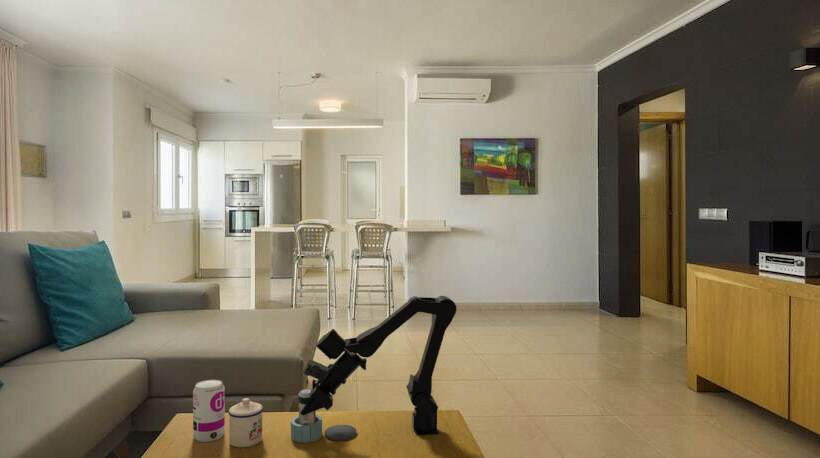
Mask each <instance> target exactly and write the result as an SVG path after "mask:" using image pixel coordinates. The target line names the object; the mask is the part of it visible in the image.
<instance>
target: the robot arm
mask: <svg viewBox="0 0 820 458" xmlns="http://www.w3.org/2000/svg"><path fill="white" fill-rule="evenodd" d="M418 313H424V314H430V315H431V326H430V329H429V333H428V337H427V340H426V343H425V346H424V350H423V353H422V356H421V360H420V364H419V367H418V370H417V372H416V373H415V374H414V375H413V374H411V373H410V374H409V381H408V383H407V385H405V387H406V389H407V395H408V397H409V399H410V403H411V404H412V405H413V407H414V408H413V412H412V414H411V415H412V416H411V421H412V422H411V423H412V424H411V428H412V429H413V430H414V433H415V434H416V435H418V436H419V435H429V434H430V435H431V434H432V435H434V434H439V433H440V432H439V429H438V410H439V406H438V404H437V402H436V401H435V397H433V395H432V391H433V390H432V389H433V388H432V387H433V386H432V385H433V374H434V371H435V369H436V364H437V360H438V357H439V354H440V351H441V346H442V344H443V341H444V337H445V333H446V331H447V329H448V328H449V326H450V325H451V323H452V321H453V319H454V317H455V315H456V314H457V305H456V303H455V302H454V301H453V300H452V299H451V298H449V297H448V296H446V295H440V296H438V297H437V296H436V297H429V296H427V297H423V296H422V297H421V296H411V297H410V298H409V300H407V302H405V303H404V304H403V305H401V306H400V307H399V308H398V309H396V310H395V311H394V312H393V313H391V314H390V315H389V316H388V317H386V318H385V319H384V320H382V322H380V323H379V324H377V325H376V326H374V327H371V328H369V329H367V330H365V331H363V332H361V333H360V334H359V335H358V336H356V337H350V338H343V337H342V336H341V335H340V334H339V333H338V331H336V329H335V328H331V330H330V331H328V332H327V333H325V334H324V335H323V336H321V338H320V339H319V340H318V341H317V343H316V344H315V347H316V348H317V349H318V350H319V351H320V352H321V353H322V354H324V355H325V356H326V357H327V359H329V360H332V359H333V360H336V361H334V362H333V363H329V364H328V365H327V366H326V365H324V364H322V363H320V362H317V361H315V360H313V359H308V361H307V363H306V365H305V366H304V367H305V368H304V371H303V374H304V375H305V376H309V377H312V378H314V379H312V385H311V386H312V387H311V388H310V389H311V398H310V399H309V401H308V402H307V404H306V405H305V406H304V408H303V409H302V411H301V414H302V415H306V414H308V413H311V412H313V411H319V410H321V409H323V408H324V409H325V410H326V411H329V410H330V409H331V408H332V407H333V405H334V396H335V394H337V390H338V389H339V388H340V387H341V385H345V384H346V383H347V380H348V378H349V377H350V376H351V375H352V374H353V373H354V372H355V371H356V370H358V368H359V367H360V368H361V369H362V370H364V371H366V370H367V362H368V361H367V359H368V358H371V357H372V356H373V355H374V354H375V353H376V352H377V351H378V349H380V347H381V346H382V344H384V342H385V341H386V339H387V338H388V337H389V336H391V334H393V333H394V332H395V331H396V330H398V329H399V328H400V327H402V326H403V325H404V324H405V323H407V321H409V320H410V319H411V318H412V317H414V316H415V315H416V314H418ZM315 379H316V380H315ZM312 389H313V390H312Z"/></svg>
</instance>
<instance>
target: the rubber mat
mask: <svg viewBox="0 0 820 458" xmlns="http://www.w3.org/2000/svg"><path fill="white" fill-rule="evenodd" d="M356 436H357V428H355V426H353V425H349V424H337V425H336V424H335V425H331V426H328V428H326V429H325V430H324V437H325V439H327V440H330V441H332V442H333V441H335V442H344V441H348V440H351V439H353V438H355V437H356Z"/></svg>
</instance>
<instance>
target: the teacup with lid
mask: <svg viewBox="0 0 820 458" xmlns="http://www.w3.org/2000/svg"><path fill="white" fill-rule="evenodd" d="M263 411H264V407H263V405H262V404H261V403H259V402H254V401H251V400H250V398H248V397H246V398H242V401H240V402H238V403H237V404H235V405H233V406H231V407H230V408H229V409H228V415H229V418H228V419H229V420H228V421H229V422H228V423H229V424H228V425H229V430H228V431H229V432H228V433H229V435H228V437H229V438H228V439H229V441H228V442H229V444H230V445H231V446H232V447H235V448H249V447H252V446H255V445H258V444H259V443H260V442H261V441H262V440H263Z"/></svg>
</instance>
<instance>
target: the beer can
mask: <svg viewBox="0 0 820 458" xmlns="http://www.w3.org/2000/svg"><path fill="white" fill-rule="evenodd" d="M311 389H312V388H303V389H301V390H299V393H298V416H299V424H300V425H310V424H314V423H316V415H317V414H316V411H317V410H316V411H313V412H311V413H308V414H306V415H302V414H301V411H302V409H303V408H304V406H305V405H306V404H307V402H308V401H309V399H310V398H311ZM312 390H313V389H312Z"/></svg>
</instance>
